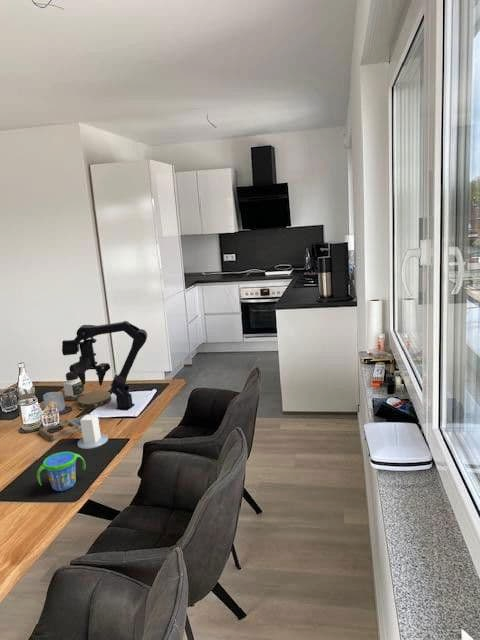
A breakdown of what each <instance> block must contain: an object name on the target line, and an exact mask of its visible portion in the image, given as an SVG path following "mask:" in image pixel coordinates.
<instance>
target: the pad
mask: <svg viewBox="0 0 480 640" xmlns="http://www.w3.org/2000/svg"><path fill="white" fill-rule="evenodd" d="M100 434H101V438H100V439H99V440H98V441H97V442H96V443H84V440H83V437H82V438H80V439H79V440H77V443H76V444H77V447H78V448H80V449H84V450H89V449H96V448H99V447H101V446H103V445H105V444H106V443H107V442H108V441H109V437H108V435H107V434H105V433H100Z"/></svg>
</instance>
